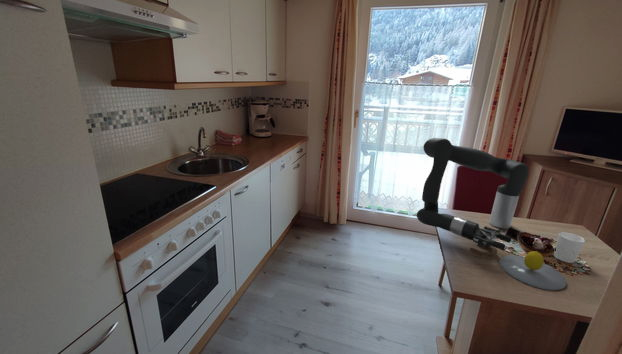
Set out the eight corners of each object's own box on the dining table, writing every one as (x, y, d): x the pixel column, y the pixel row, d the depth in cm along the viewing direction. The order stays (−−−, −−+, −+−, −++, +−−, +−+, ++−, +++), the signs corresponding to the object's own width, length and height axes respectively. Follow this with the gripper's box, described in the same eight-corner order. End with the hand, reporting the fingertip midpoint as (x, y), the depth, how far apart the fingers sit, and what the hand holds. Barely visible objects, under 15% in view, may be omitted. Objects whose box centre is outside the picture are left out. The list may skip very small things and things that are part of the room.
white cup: (551, 250, 121) (558, 230, 118) (576, 258, 117) (584, 236, 114) (551, 258, 116) (559, 237, 113) (577, 266, 111) (586, 244, 108)
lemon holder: (478, 243, 124) (479, 239, 124) (498, 251, 119) (500, 247, 118) (468, 252, 117) (469, 248, 116) (490, 261, 111) (491, 257, 111)
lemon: (523, 271, 105) (529, 253, 102) (520, 264, 109) (526, 246, 107) (541, 276, 102) (548, 257, 100) (538, 268, 107) (544, 250, 105)
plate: (507, 251, 119) (507, 249, 119) (569, 274, 106) (570, 272, 105) (492, 269, 106) (493, 267, 106) (561, 298, 92) (562, 296, 92)
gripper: (459, 225, 115) (505, 241, 104) (471, 215, 125) (515, 229, 114) (455, 241, 118) (500, 258, 106) (468, 231, 127) (510, 246, 116)
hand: (507, 243), depth 110 cm, fingers open, 8 cm apart
